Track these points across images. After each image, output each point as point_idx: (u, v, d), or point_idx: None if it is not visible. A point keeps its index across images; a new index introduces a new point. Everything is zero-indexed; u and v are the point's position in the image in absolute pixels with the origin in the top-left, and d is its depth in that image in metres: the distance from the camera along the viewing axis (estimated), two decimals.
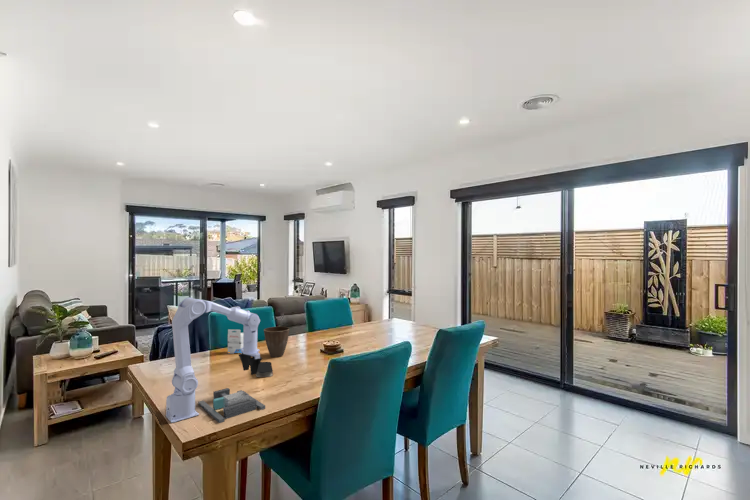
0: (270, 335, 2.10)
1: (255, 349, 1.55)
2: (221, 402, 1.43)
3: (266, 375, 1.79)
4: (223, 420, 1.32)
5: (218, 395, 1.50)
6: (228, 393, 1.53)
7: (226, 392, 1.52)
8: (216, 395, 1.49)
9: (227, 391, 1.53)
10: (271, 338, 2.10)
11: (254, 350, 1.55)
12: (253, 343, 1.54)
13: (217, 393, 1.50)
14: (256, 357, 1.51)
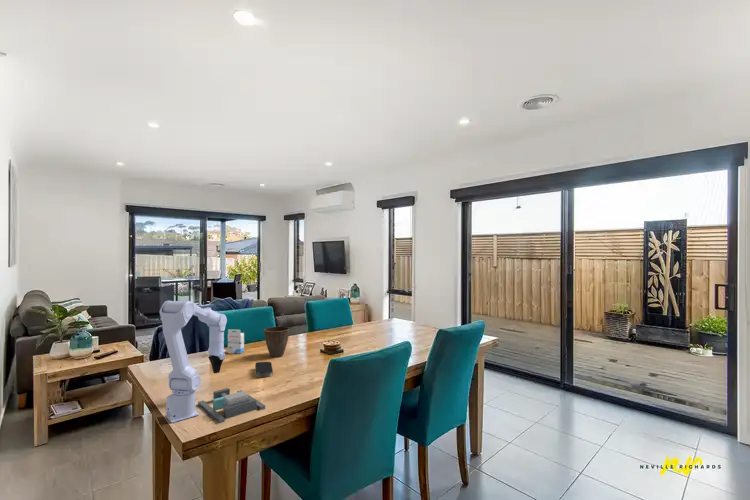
0: (270, 335, 2.10)
1: (221, 350, 1.55)
2: (221, 402, 1.43)
3: (266, 375, 1.79)
4: (223, 420, 1.32)
5: (218, 395, 1.50)
6: (228, 393, 1.53)
7: (226, 392, 1.52)
8: (216, 395, 1.49)
9: (227, 391, 1.53)
10: (271, 338, 2.10)
11: (220, 351, 1.55)
12: (219, 344, 1.54)
13: (217, 393, 1.50)
14: (221, 358, 1.51)
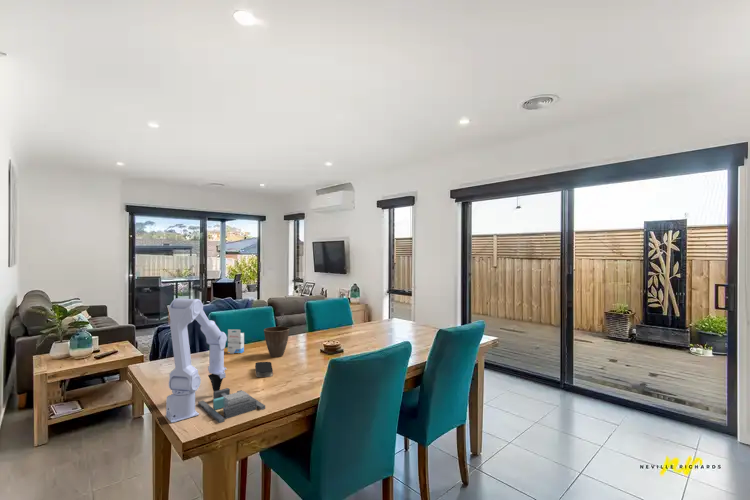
0: (270, 335, 2.10)
1: (221, 368, 1.55)
2: (221, 402, 1.43)
3: (266, 375, 1.79)
4: (223, 420, 1.32)
5: (218, 395, 1.50)
6: (228, 393, 1.53)
7: (226, 392, 1.52)
8: (216, 395, 1.49)
9: (227, 391, 1.53)
10: (271, 338, 2.10)
11: (220, 369, 1.55)
12: (219, 362, 1.54)
13: (217, 393, 1.50)
14: (221, 376, 1.50)
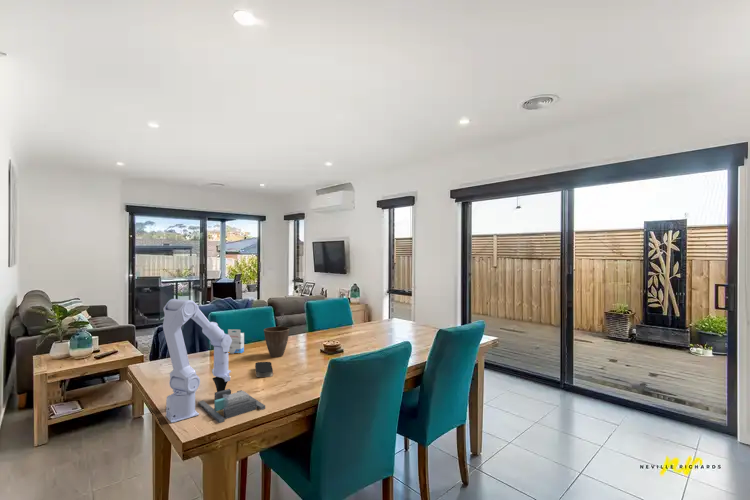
0: (270, 335, 2.10)
1: (226, 371, 1.52)
2: None
3: (267, 375, 1.79)
4: (223, 420, 1.32)
5: (219, 396, 1.49)
6: (229, 394, 1.52)
7: (227, 393, 1.51)
8: (217, 396, 1.48)
9: (228, 392, 1.52)
10: (271, 338, 2.10)
11: (225, 372, 1.51)
12: (224, 365, 1.51)
13: (218, 394, 1.49)
14: (226, 380, 1.47)
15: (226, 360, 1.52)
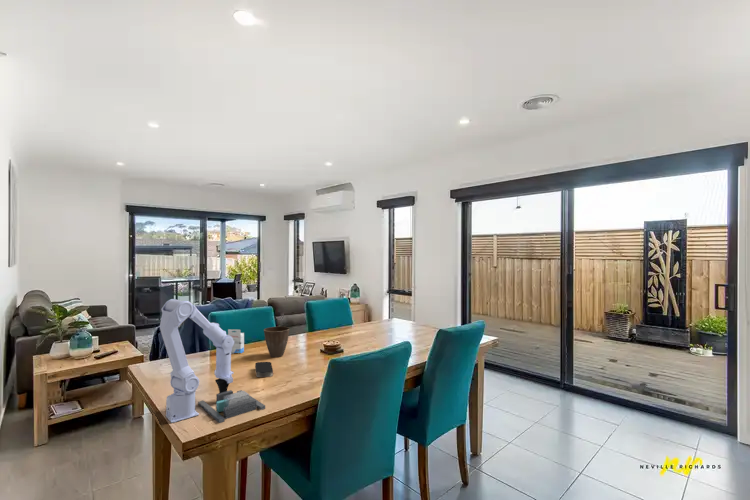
0: (270, 335, 2.10)
1: (228, 372, 1.50)
2: None
3: (267, 375, 1.79)
4: (223, 420, 1.32)
5: (221, 398, 1.48)
6: None
7: (229, 394, 1.50)
8: (219, 397, 1.47)
9: (230, 393, 1.50)
10: (271, 338, 2.10)
11: (227, 373, 1.49)
12: (226, 366, 1.49)
13: (220, 395, 1.47)
14: (229, 381, 1.45)
15: (228, 362, 1.49)
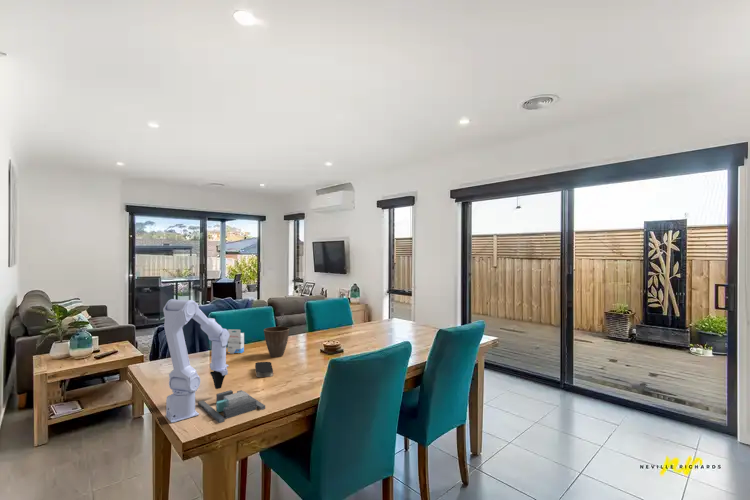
0: (270, 335, 2.10)
1: (223, 365, 1.53)
2: None
3: (267, 375, 1.79)
4: (223, 420, 1.32)
5: (221, 398, 1.48)
6: None
7: (229, 394, 1.50)
8: (219, 397, 1.47)
9: (230, 393, 1.50)
10: (271, 338, 2.10)
11: (222, 366, 1.53)
12: (221, 359, 1.53)
13: (220, 395, 1.47)
14: (223, 373, 1.49)
15: (224, 354, 1.54)
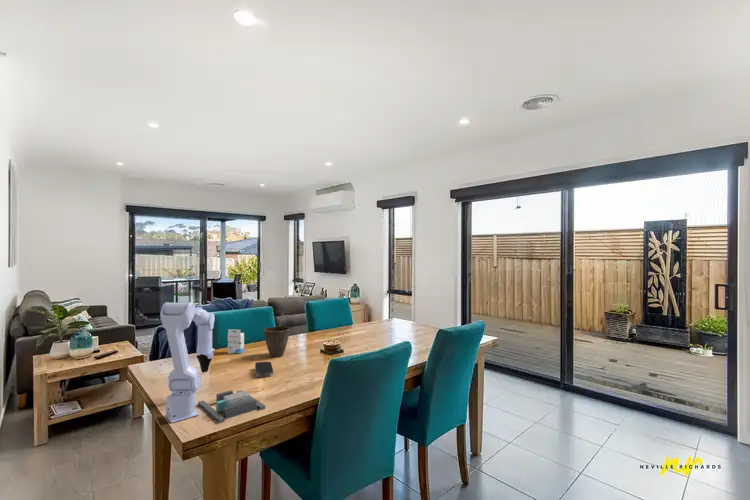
0: (270, 335, 2.10)
1: (209, 348, 1.54)
2: None
3: (267, 375, 1.79)
4: (223, 420, 1.32)
5: (221, 398, 1.48)
6: None
7: (229, 394, 1.50)
8: (219, 397, 1.47)
9: (230, 393, 1.50)
10: (271, 338, 2.10)
11: (208, 350, 1.54)
12: (207, 342, 1.53)
13: (220, 395, 1.47)
14: (209, 357, 1.50)
15: (211, 337, 1.56)
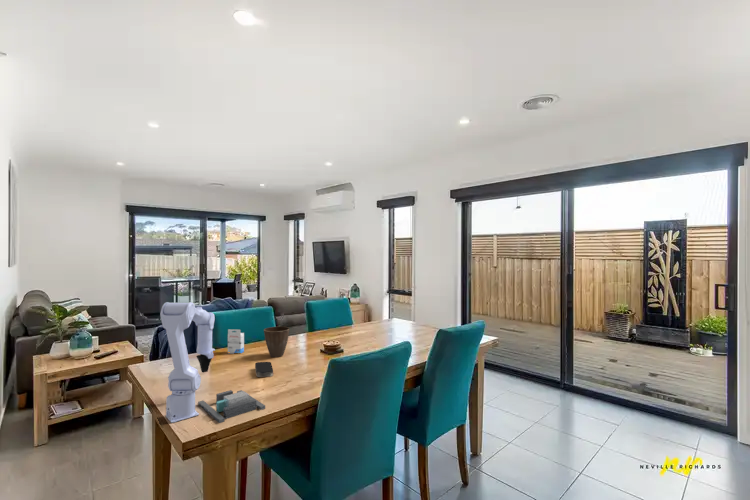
0: (270, 335, 2.10)
1: (209, 348, 1.54)
2: None
3: (267, 375, 1.79)
4: (223, 420, 1.32)
5: (221, 398, 1.48)
6: None
7: (229, 394, 1.50)
8: (219, 397, 1.47)
9: (230, 393, 1.50)
10: (271, 338, 2.10)
11: (208, 350, 1.54)
12: (207, 342, 1.53)
13: (220, 395, 1.47)
14: (209, 357, 1.50)
15: (211, 337, 1.56)
